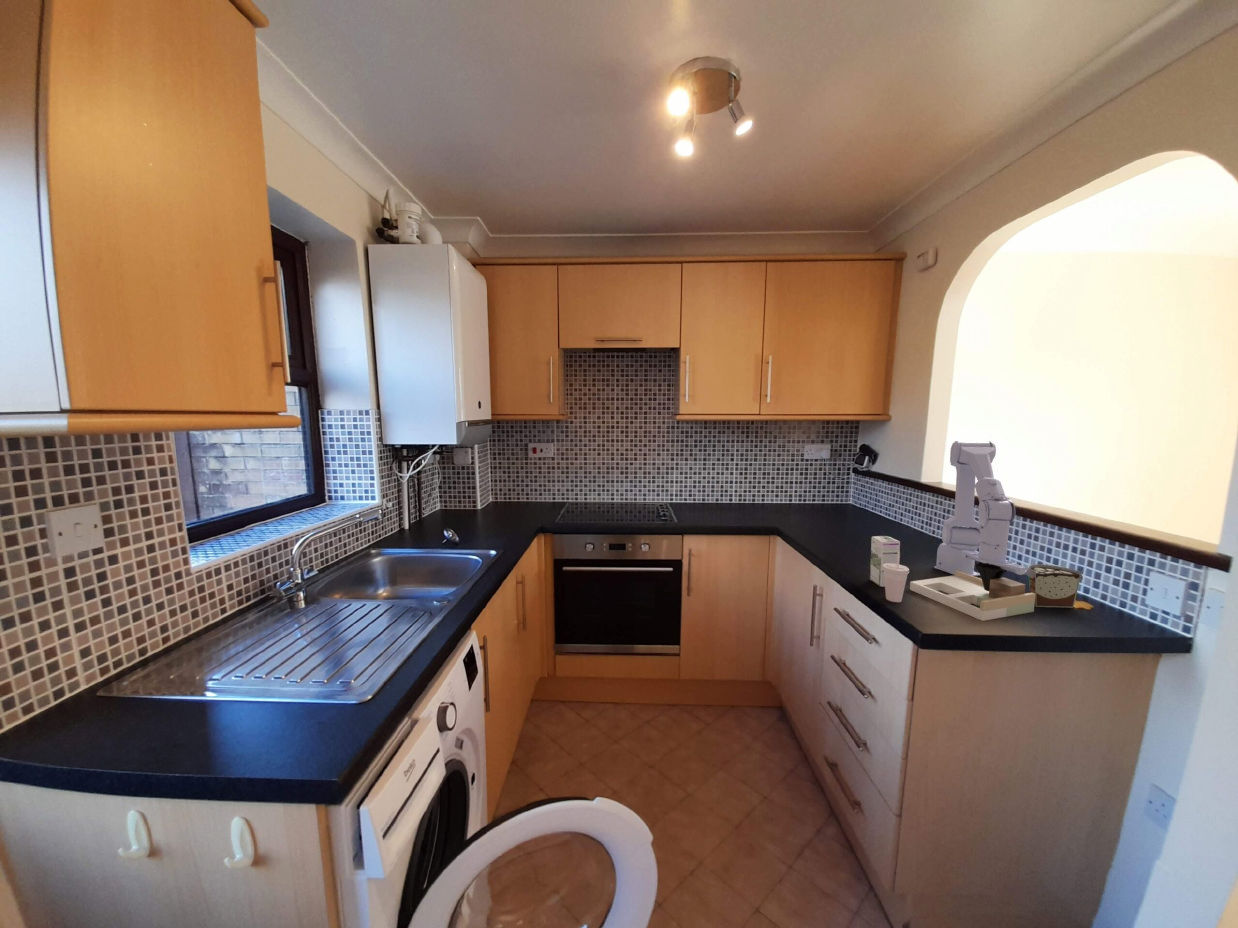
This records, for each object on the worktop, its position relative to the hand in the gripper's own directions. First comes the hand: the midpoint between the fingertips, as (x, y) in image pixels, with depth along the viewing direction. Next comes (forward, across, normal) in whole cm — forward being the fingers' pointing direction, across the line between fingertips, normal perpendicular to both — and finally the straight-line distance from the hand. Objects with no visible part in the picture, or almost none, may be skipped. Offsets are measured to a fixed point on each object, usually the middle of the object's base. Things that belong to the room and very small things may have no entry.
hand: (989, 590), depth 115 cm
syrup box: (+4, -18, -16) cm, 25 cm away
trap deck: (+3, -2, -4) cm, 6 cm away
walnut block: (+1, +4, 0) cm, 4 cm away
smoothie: (+4, -8, -24) cm, 25 cm away
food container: (+4, +4, +14) cm, 16 cm away
